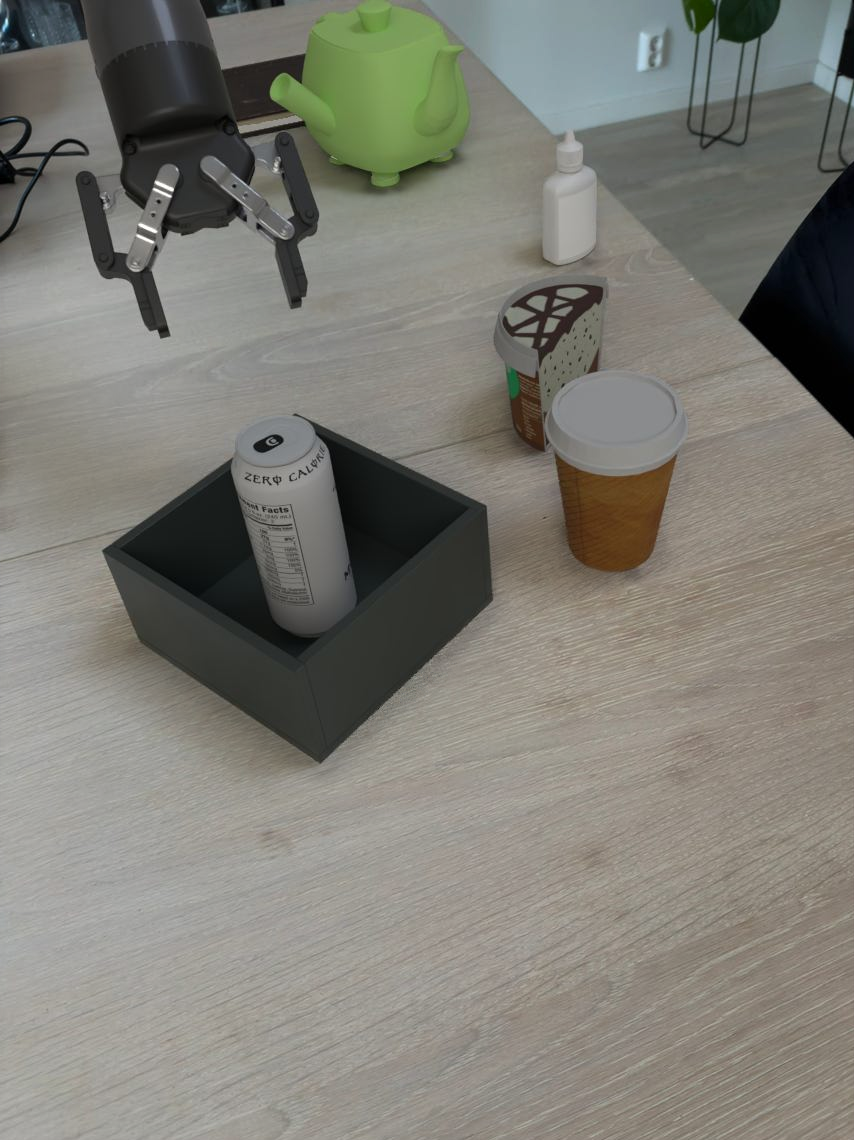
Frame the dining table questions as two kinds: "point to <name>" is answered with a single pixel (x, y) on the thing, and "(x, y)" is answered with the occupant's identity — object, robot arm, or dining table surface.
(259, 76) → the hardcover book
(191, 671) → the bin
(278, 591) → the energy drink can
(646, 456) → the disposable coffee cup
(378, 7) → the teapot
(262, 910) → the dining table surface
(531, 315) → the food container
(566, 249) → the eye dropper bottle
